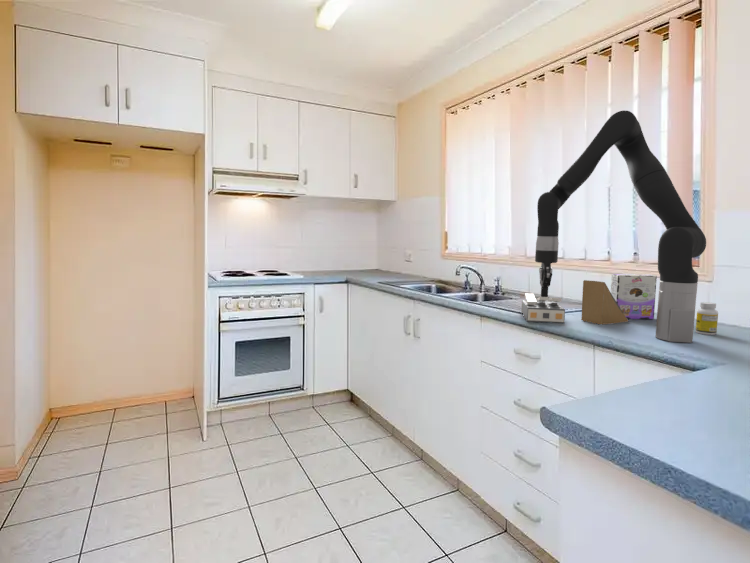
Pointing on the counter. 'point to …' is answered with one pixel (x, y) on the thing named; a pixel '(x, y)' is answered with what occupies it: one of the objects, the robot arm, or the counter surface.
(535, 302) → the block
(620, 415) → the counter surface
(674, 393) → the counter surface
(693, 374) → the counter surface
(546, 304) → the switch unit
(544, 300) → the rocker middle
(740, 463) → the counter surface
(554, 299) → the rocker right
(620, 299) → the candy box
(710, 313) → the supplement bottle
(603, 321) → the sandwich container
